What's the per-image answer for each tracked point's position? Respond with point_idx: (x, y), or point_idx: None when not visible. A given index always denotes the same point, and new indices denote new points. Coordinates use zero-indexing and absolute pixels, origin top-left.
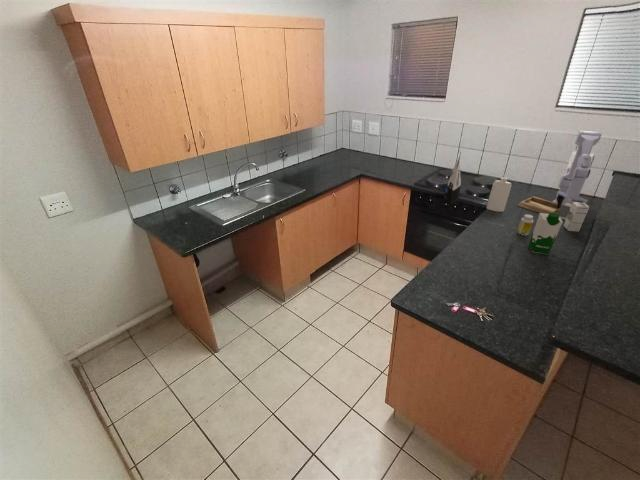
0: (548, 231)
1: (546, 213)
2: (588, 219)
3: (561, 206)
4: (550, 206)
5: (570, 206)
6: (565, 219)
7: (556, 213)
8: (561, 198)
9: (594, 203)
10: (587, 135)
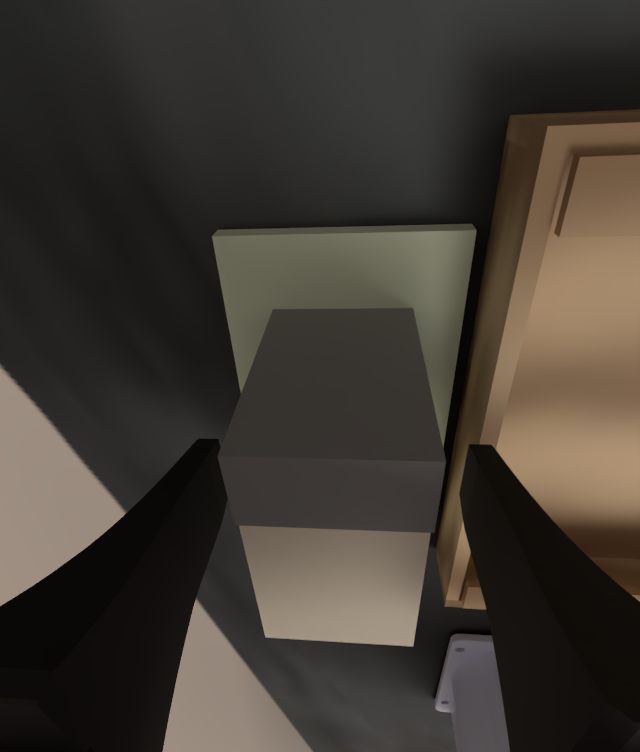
0: None
1: (626, 118)
2: (120, 502)
3: (419, 441)
4: (597, 533)
5: (264, 553)
6: (220, 234)
7: (448, 366)
8: (594, 742)
9: (314, 740)
10: None
